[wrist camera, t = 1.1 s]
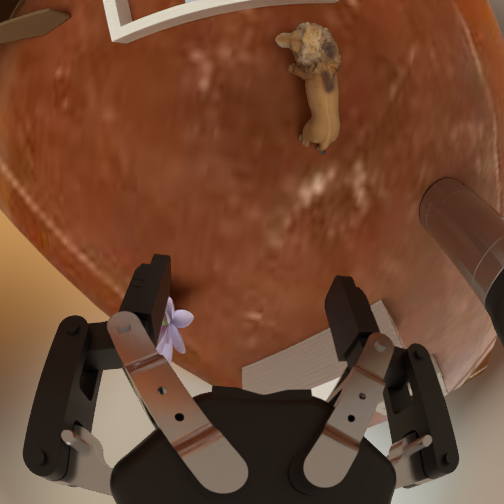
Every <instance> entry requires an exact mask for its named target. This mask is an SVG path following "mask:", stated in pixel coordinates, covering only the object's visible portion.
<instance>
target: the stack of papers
mask: <svg viewBox="0 0 504 504" xmlns="http://www.w3.org/2000/svg"><path fill="white" fill-rule="evenodd" d="M370 307H371V311H372V312H373V314H374V317H375V319H376V322H377V325H378V327H379V330H380V332H381V333H383V334H385V335H387V336H388V337H389V338H390V339H391V341H392V342H393V345H394V346H397V347H400V348H404V349H406V348H405V346H404V343H403V341H402V339H401V336H400V334H399V332H398V329H397V327H396V325H395V323H394V321H393V319H392V318H391V316H390V314H389V312H388V311H387V309H386V307H385V305H384V304H383V302H382V300H380V301H378V302H376V303H374V304H373V305H371V306H370ZM346 366H347V361H342V362H338V358H337V354H336V350H335V346H334V342H333V338H332V334H331V330H330V328H328V329H326V330H324V331H322V332H320V333H318V334H316V335H314V336H312V337H310V338H308V339H306V340H304V341H302V342H300V343H298V344H296V345H294V346H291V347H289V348H287V349H285V350H283V351H280V352H278V353H276V354H274V355H271V356H269V357H267V358H265V359H262V360H260V361H258V362H255V363H253V364H250V365H248V366H246V367H243V368H242V378H243V379H242V382H243V383H242V386H243V387H242V389H244V390H247V391H251V392H255V393H258V394H262V395H266V394H271V393H275V392H280V391H284V390H288V389H311V391H312V396H315V397H317V398H320V399H322V400H324V401H326V400H327V398H328V397H329V395H330V394H331V392H332V391H333V389H334V387H335V385H336V384H337V382H338V380H339V378H340V377H341V375H342V373H343V371H344V369H345V368H346Z"/></svg>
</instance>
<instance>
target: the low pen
mask: <svg viewBox="0 0 504 504" xmlns="http://www.w3.org/2000/svg"><path fill="white" fill-rule="evenodd" d="M338 1H339V0H185V2H186V3H185V4H182V5H178V6H175V7H172V8H169V9H166V10H163V11H160V12H157V13H154V14H151V15H148V16H146V17H143V18H141V19H138V20H136V21H132V17H131V13H130V8H129V4H128V0H103V3H104V8H105V13H106V17H107V22H108V26H109V31H110V35H111V39H112V42H119V43H129V42H132V41H134V40H137V39H139V38H142V37H145V36H147V35H150V34H153V33H155V32H158V31H161V30H164V29H167V28H170V27H173V26H177V25H180V24H183V23H187V22H190V21H194V20H198V19H202V18H206V17H210V16H214V15H219V14H224V13H228V12H234V11H239V10H245V9H252V8H259V7H267V6H276V5H287V4H304V3H336V2H338Z"/></svg>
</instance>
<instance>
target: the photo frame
mask: <svg viewBox="0 0 504 504" xmlns="http://www.w3.org/2000/svg"><path fill="white" fill-rule="evenodd" d="M24 1H25V0H0V44H1V43H6V42H10V41H15V40H20V39H26V38H31V37H38V36H44V35H46V34H47V33H48V32H50V31H51V30H53V29H54V28H55V27H57V26H58V25H60V24H61V23H63V22H64V21H66V20H67V19H69V18H70V17H71V16H70V14H67V13H64V12H60V11H57V10H54V9H50V8H48V9H44V10H40V11H36V12H32V13H29V14H25V15H22V16H19V17H16V18H15V16H16V14H17V13H18V11H19V9H20V8H21V6H22V5H23V3H24Z"/></svg>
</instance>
